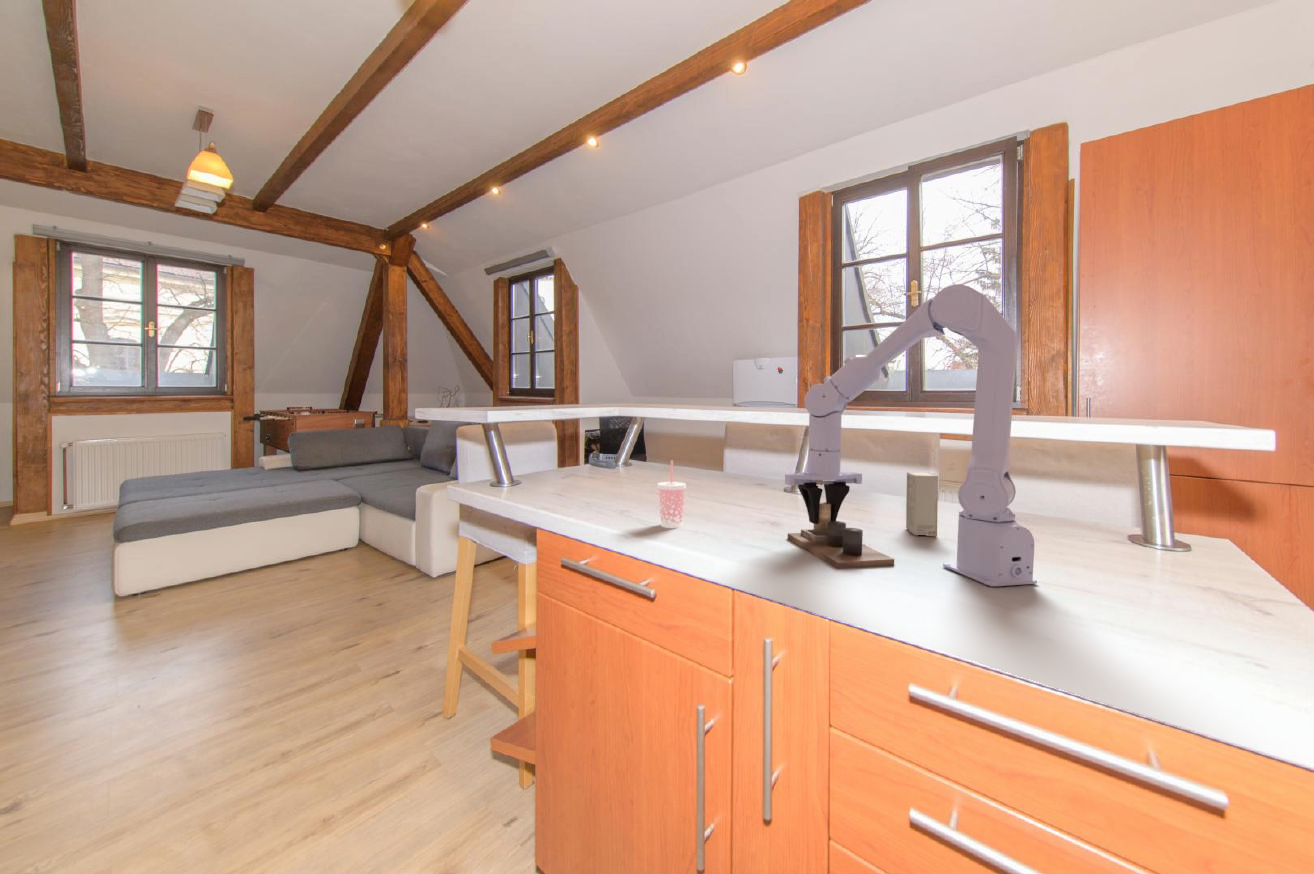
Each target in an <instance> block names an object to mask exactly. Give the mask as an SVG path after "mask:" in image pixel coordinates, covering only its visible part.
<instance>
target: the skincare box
mask: <svg viewBox="0 0 1314 874" xmlns="http://www.w3.org/2000/svg"><path fill="white" fill-rule="evenodd" d="M938 496H939V475H937V474H933V473H931V472H913V471H912V472H909V471H907V472H906V503H905V504H906V508H905V509H906V510H905V511H906V513H905V515H906V517H905V518H906V519H905V521H906V522H905V529H906V528H907V529H908V530H909V531H908V530H907V529H906V530H907V531H908V532H910V533H911V532H912V533H913V534H912V533H911V534H912V535H913V536H918V535H926V536H925V537H938V510H939V509H938V507H939V505H938V504H939V503H938V500H939V497H938Z"/></svg>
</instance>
